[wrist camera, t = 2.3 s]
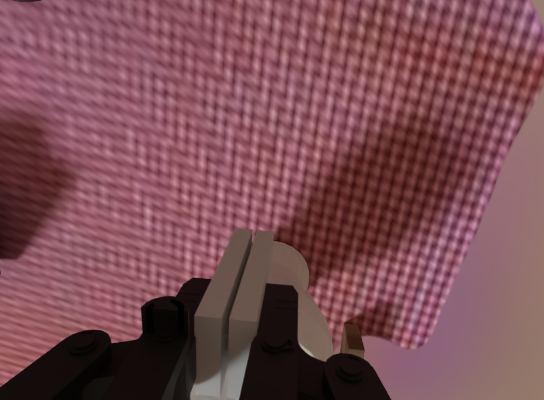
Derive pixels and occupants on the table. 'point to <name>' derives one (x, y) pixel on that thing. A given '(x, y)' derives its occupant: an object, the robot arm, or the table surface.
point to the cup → (310, 318)
